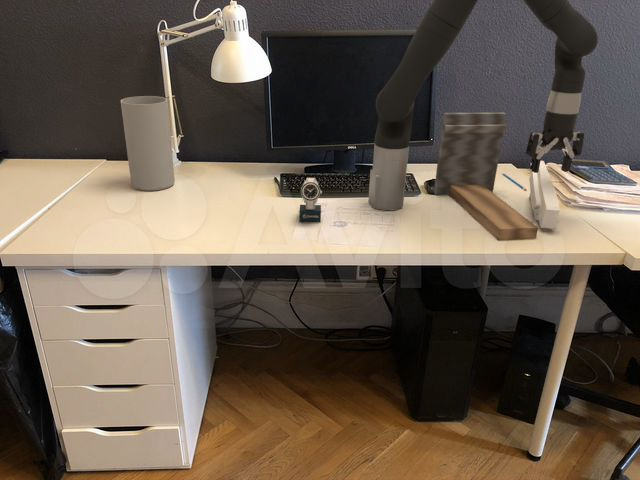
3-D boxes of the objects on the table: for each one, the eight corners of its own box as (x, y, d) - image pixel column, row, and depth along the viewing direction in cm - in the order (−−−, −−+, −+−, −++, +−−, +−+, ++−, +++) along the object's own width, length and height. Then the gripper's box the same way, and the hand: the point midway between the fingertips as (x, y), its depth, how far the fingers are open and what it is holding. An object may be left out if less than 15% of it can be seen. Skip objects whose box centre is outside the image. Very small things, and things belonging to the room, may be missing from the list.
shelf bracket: (540, 199, 160) (551, 161, 152) (552, 249, 140) (565, 209, 133) (521, 197, 161) (531, 159, 153) (530, 247, 141) (541, 207, 133)
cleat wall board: (483, 241, 131) (499, 144, 121) (433, 193, 161) (443, 112, 151) (550, 237, 134) (572, 143, 124) (489, 191, 164) (503, 112, 154)
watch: (299, 225, 137) (299, 184, 132) (300, 213, 144) (300, 173, 139) (321, 225, 137) (322, 184, 132) (320, 213, 144) (322, 174, 139)
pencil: (524, 191, 166) (524, 189, 165) (500, 174, 181) (500, 172, 181) (526, 191, 166) (527, 189, 165) (502, 174, 181) (502, 172, 181)
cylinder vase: (122, 188, 158) (110, 101, 147) (149, 175, 168) (139, 94, 158) (158, 194, 154) (148, 106, 143) (183, 181, 164) (176, 98, 154)
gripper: (544, 113, 130) (532, 177, 137) (597, 112, 132) (582, 175, 139) (528, 107, 137) (517, 168, 144) (579, 106, 139) (566, 166, 146)
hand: (549, 171), depth 142 cm, fingers open, 8 cm apart
